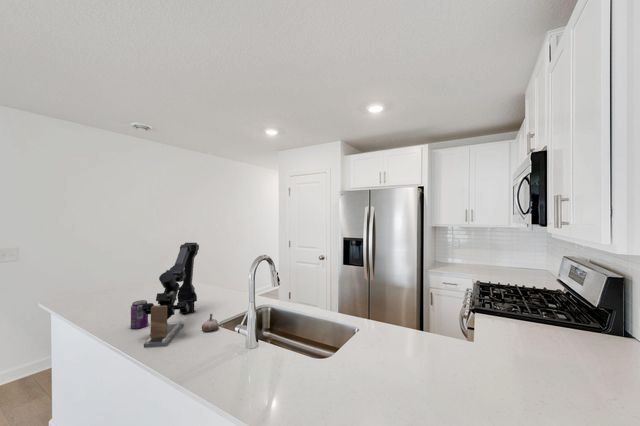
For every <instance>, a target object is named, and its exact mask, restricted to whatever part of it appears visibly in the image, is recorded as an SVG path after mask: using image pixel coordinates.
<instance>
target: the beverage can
mask: <svg viewBox="0 0 640 426" xmlns="http://www.w3.org/2000/svg"><path fill="white" fill-rule="evenodd" d="M144 303H148V300H145V299H144V300H143V299H141V300H135V301H133V302H132V303H131V306H130V328H132V329H142V328H145V327H146V326H148V325H149V314H144V312H143V311H142V310H141V307H142V305H143V304H144Z"/></svg>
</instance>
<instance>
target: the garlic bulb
mask: <svg viewBox="0 0 640 426" xmlns="http://www.w3.org/2000/svg"><path fill="white" fill-rule="evenodd" d="M219 327H220V325H219V322H218V320H217V319H215V318H213V313H211V312H210V314H209V319H208V320H206V321H204V322H203V323H202V325H201V329H202V331H204V332H210V331H215V330H218V329H219Z"/></svg>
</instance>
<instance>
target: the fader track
mask: <svg viewBox="0 0 640 426" xmlns="http://www.w3.org/2000/svg"><path fill="white" fill-rule="evenodd" d="M184 326H185V324H184V323H182V321H178V323H169V322H168V321H167V336H166V337H165V338H164V339H163V340H162V341H161V342H151V339H152V338H150V337H149V338H148V339H147V340H146V341H145V342H144V343H143V348H156V347H157V348H159V347H168V346H169V344H170V343H172V341H173V340H174V339H175V337H176V336H177V335H178V334H179V332H181V330H182V329H183V328H184Z"/></svg>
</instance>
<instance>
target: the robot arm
mask: <svg viewBox="0 0 640 426" xmlns="http://www.w3.org/2000/svg"><path fill="white" fill-rule="evenodd" d="M199 249H200V245H199V244H198V243H197V242H185V243H184V244H180V246H179V252H178V254H177V258H176V260H175V262H174V265H173V266H172V267H170V269H167V270H166V271H165V272H163V273H161V274H160V276H159V277H158V279H159V282H160V284H161V286H162V287H163V288H164V290H163V291H164V292H161V293H160V292H159V293H157V294H156V297H155V302H157V304H156V305H154V303H153V302H147V303H144V304H143V305H142V307H141V310H142V311H143V312H144V314H148V315H151V307H152V306H167V321H168V320H169V319H170V318H171V317H172V316H174V315H175V311H176V310H179V314H180V315H184V316H187V315H190V314H193V313H196V310H195V302H198V296H197V293H196V290H195V287H194V285H193V276H194V265H195V257H196V256H197V254H198V252H199ZM181 282H182V285H180V284H179V283H181ZM176 301H177V303H176V304H175V302H176Z"/></svg>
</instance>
